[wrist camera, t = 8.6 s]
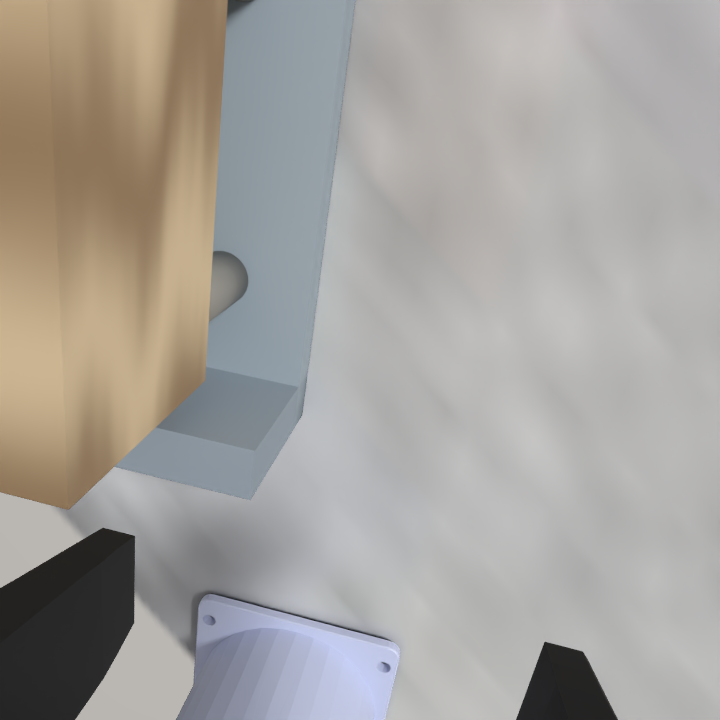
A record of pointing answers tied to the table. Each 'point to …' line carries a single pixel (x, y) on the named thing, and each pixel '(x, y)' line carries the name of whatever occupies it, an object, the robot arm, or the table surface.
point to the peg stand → (261, 244)
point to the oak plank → (102, 229)
